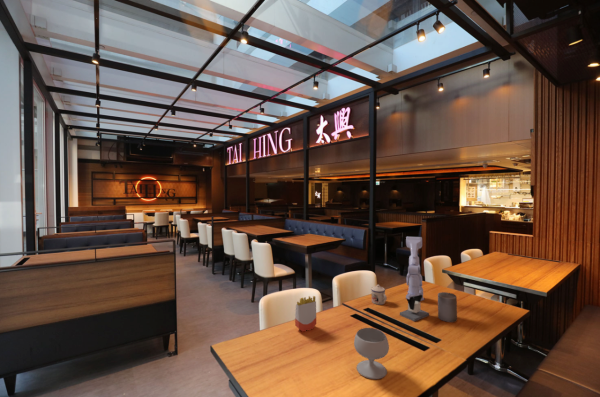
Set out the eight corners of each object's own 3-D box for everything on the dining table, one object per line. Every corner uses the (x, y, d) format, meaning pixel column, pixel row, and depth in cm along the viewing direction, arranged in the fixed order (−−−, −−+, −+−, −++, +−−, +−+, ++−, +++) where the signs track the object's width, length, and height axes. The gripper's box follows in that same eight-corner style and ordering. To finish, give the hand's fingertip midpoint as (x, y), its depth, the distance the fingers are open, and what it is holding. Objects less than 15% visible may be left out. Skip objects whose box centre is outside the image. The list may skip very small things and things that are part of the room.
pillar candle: (452, 315, 164) (451, 290, 163) (460, 322, 154) (459, 296, 154) (435, 314, 165) (434, 289, 164) (442, 322, 155) (441, 296, 155)
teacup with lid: (368, 301, 186) (368, 284, 186) (378, 298, 190) (378, 282, 190) (380, 307, 176) (380, 289, 175) (391, 305, 179) (391, 287, 179)
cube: (412, 307, 168) (412, 299, 167) (420, 310, 164) (420, 302, 163) (408, 310, 165) (408, 301, 164) (415, 313, 161) (415, 304, 160)
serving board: (414, 309, 172) (414, 307, 172) (429, 315, 163) (429, 313, 163) (399, 315, 165) (399, 312, 165) (414, 321, 156) (414, 319, 156)
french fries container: (295, 329, 149) (294, 296, 149) (312, 324, 154) (311, 293, 154) (298, 333, 145) (298, 299, 145) (316, 328, 150) (316, 295, 150)
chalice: (382, 359, 122) (382, 325, 121) (394, 381, 108) (394, 343, 107) (351, 360, 121) (350, 326, 121) (358, 382, 107) (358, 344, 107)
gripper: (414, 281, 171) (414, 302, 172) (401, 286, 162) (401, 309, 163) (425, 284, 166) (425, 306, 166) (412, 289, 157) (412, 313, 157)
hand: (414, 308), depth 164 cm, fingers closed on cube, 5 cm apart
